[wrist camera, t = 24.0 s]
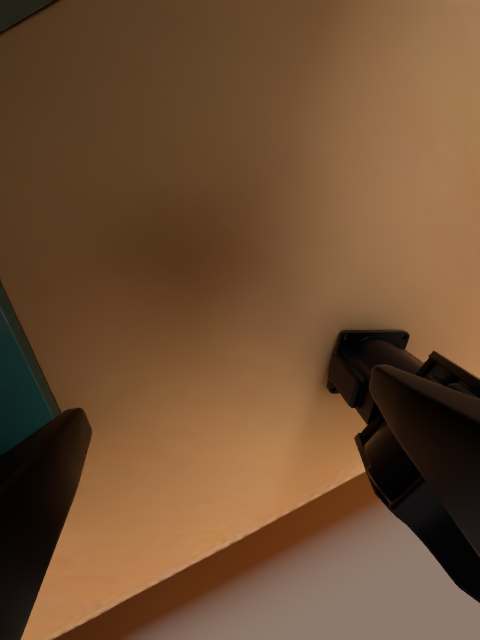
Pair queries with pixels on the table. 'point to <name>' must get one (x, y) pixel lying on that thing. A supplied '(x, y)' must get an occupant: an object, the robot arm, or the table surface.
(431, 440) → the robot arm
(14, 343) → the teal storage box
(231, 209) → the table surface
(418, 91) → the table surface
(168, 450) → the table surface
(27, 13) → the door
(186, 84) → the table surface
